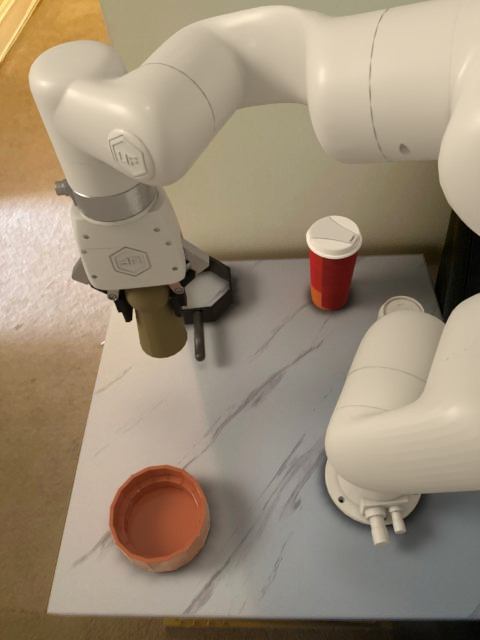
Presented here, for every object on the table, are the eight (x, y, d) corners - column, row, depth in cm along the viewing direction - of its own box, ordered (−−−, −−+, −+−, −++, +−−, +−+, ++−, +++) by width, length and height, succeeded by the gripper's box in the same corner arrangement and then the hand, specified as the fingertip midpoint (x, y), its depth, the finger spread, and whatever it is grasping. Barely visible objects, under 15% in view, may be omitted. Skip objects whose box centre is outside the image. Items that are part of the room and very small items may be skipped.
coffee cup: (362, 289, 95) (372, 223, 83) (340, 323, 91) (348, 259, 79) (317, 272, 98) (321, 206, 87) (295, 304, 94) (295, 239, 83)
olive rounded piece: (164, 312, 73) (145, 252, 65) (197, 334, 70) (183, 275, 62) (130, 342, 71) (106, 283, 62) (163, 366, 68) (143, 309, 59)
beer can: (406, 356, 86) (425, 294, 75) (409, 391, 83) (429, 331, 71) (366, 355, 87) (378, 292, 75) (368, 389, 84) (380, 329, 72)
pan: (240, 365, 88) (239, 353, 85) (164, 374, 88) (160, 362, 85) (230, 266, 101) (228, 252, 98) (164, 273, 101) (160, 260, 98)
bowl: (212, 567, 70) (208, 556, 66) (116, 578, 70) (106, 567, 66) (207, 475, 77) (203, 460, 73) (121, 484, 77) (112, 470, 73)
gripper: (15, 224, 50) (79, 343, 64) (207, 204, 49) (228, 328, 63) (30, 171, 54) (86, 293, 69) (205, 152, 54) (225, 279, 68)
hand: (154, 309), depth 66 cm, fingers closed on olive rounded piece, 5 cm apart
